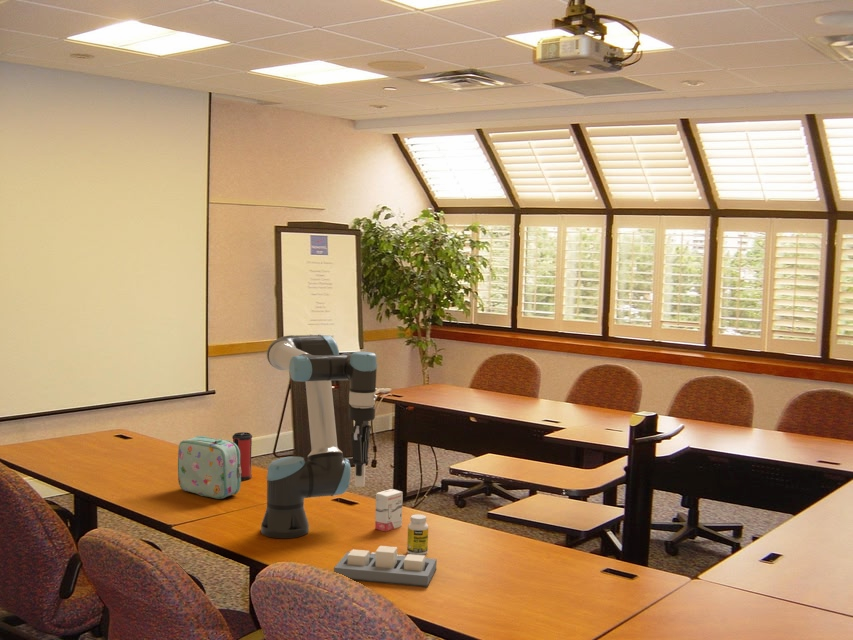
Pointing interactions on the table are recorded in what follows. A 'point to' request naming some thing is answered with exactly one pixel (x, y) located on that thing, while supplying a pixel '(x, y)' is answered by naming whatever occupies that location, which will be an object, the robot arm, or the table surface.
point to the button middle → (386, 557)
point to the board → (387, 572)
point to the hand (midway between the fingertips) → (359, 485)
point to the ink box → (388, 510)
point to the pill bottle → (417, 535)
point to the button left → (358, 557)
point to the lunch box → (209, 467)
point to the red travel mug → (244, 453)
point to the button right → (414, 562)
